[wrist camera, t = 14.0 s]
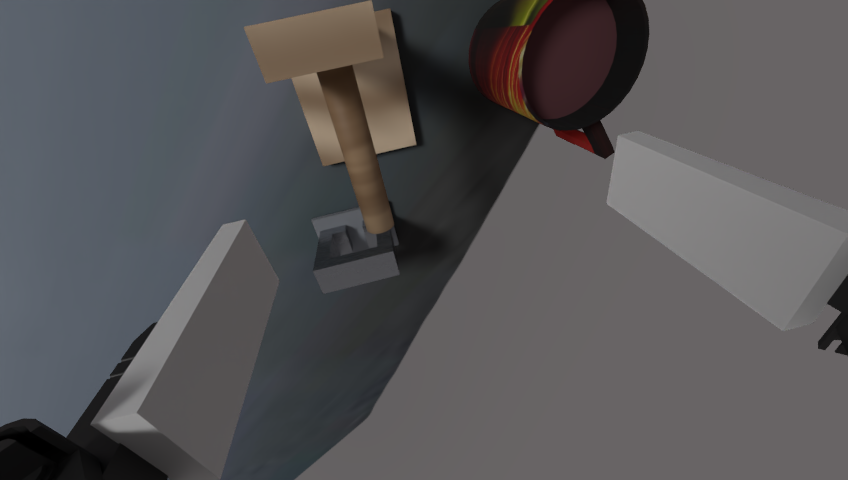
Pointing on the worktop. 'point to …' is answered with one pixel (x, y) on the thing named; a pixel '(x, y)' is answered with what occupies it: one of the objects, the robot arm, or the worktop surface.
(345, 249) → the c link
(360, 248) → the pad
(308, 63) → the stand
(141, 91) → the worktop surface
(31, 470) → the robot arm
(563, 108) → the mug
